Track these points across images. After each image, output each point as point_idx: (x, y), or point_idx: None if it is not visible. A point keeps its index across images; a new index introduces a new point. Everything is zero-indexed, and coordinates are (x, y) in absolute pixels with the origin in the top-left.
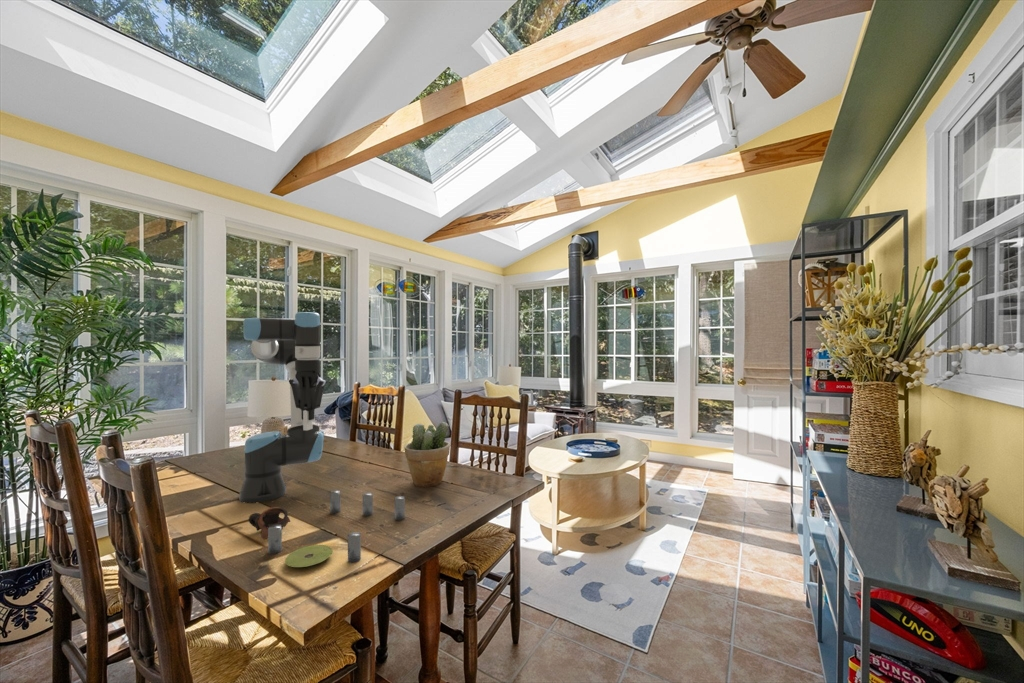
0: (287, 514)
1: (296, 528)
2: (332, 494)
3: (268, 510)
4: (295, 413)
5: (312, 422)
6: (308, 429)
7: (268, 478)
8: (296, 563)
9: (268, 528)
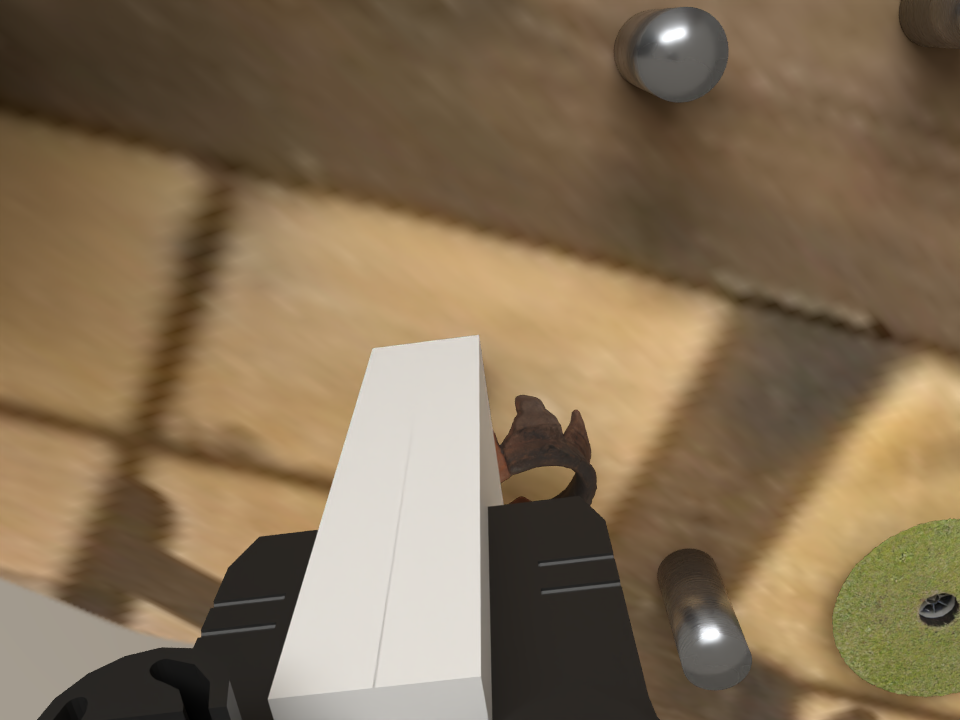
0: (557, 430)
1: (574, 341)
2: (684, 100)
3: None
4: None
5: (478, 406)
6: (498, 473)
7: None
8: (929, 676)
9: (694, 682)
